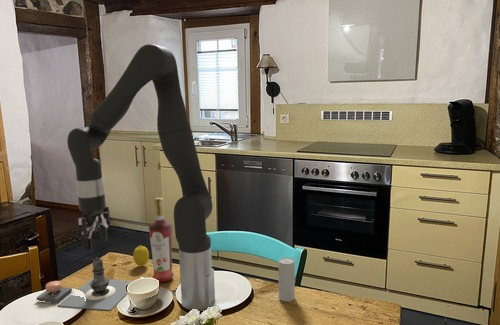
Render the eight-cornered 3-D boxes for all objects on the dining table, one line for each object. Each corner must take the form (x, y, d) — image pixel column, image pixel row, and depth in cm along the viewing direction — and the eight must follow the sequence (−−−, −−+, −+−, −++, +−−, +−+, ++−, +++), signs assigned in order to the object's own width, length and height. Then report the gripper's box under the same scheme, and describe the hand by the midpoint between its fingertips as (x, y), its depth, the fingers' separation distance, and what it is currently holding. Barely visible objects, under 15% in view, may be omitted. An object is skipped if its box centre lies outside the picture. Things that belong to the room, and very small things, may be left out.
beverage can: (285, 293, 122) (285, 256, 120) (298, 298, 119) (298, 260, 117) (275, 298, 119) (275, 260, 117) (287, 304, 115) (287, 265, 114)
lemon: (147, 269, 141) (146, 248, 140) (132, 269, 141) (130, 248, 140) (151, 263, 147) (150, 242, 145) (136, 263, 147) (135, 242, 145)
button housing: (72, 292, 125) (71, 287, 125) (57, 303, 119) (57, 298, 118) (52, 290, 127) (51, 286, 126) (37, 301, 120) (36, 297, 120)
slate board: (138, 282, 131) (138, 281, 131) (110, 310, 114) (110, 309, 114) (91, 279, 134) (91, 278, 134) (57, 306, 117) (57, 305, 117)
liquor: (177, 275, 136) (173, 195, 132) (170, 285, 129) (165, 201, 124) (157, 274, 137) (152, 195, 133) (148, 284, 130) (143, 201, 125)
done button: (65, 289, 124) (64, 281, 124) (56, 296, 120) (55, 287, 119) (52, 289, 125) (51, 280, 124) (43, 295, 121) (42, 286, 120)
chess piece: (103, 297, 121) (100, 260, 119) (86, 296, 122) (82, 259, 120) (114, 288, 126) (110, 253, 124) (97, 287, 128) (93, 252, 126)
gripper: (89, 199, 111) (94, 254, 114) (114, 188, 125) (119, 237, 128) (65, 199, 113) (71, 253, 115) (93, 188, 127) (98, 236, 129)
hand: (96, 245), depth 122 cm, fingers open, 8 cm apart
